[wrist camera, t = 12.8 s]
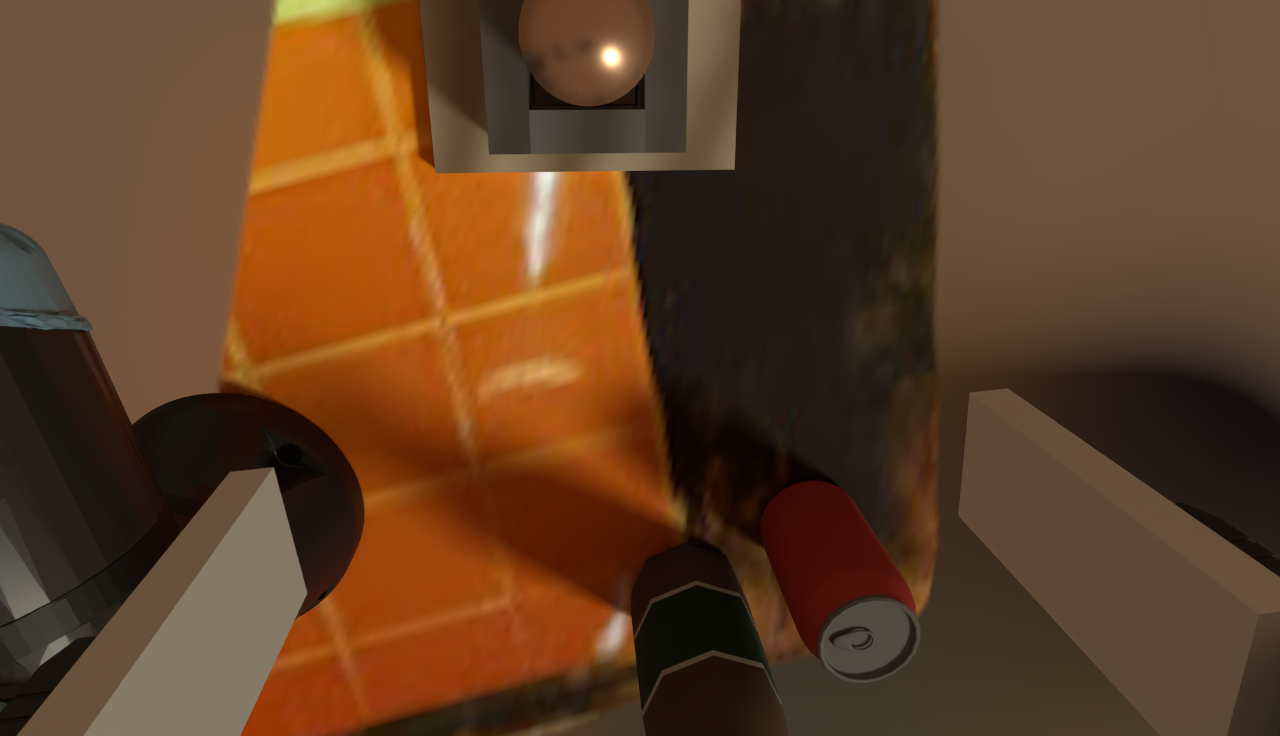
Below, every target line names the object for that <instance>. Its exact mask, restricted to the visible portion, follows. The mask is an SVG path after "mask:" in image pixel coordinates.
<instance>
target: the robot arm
mask: <svg viewBox="0 0 1280 736" xmlns="http://www.w3.org/2000/svg"><path fill="white" fill-rule="evenodd" d="M90 330H93V328H92V326H91V324H90V322H89V321H88V320H87V319H86V318H84V317H83V316H80V315H79V313H78V312H77V310H76V308H75V306H74V305H73V303H72V301H71V299H70V297H69V295H68V293H67V292H66V290H65V288H64V286H63V284H62V282H61V280H60V278H59V277H58V275H57V273H56V271H55V270H54V267H53V266H52V264H51V262H50V260H49V258H48V256H47V254H46V253H45V251H44V250H43V249H42V248H41V246H40V245H39V244H38V243H37V242H35V241H34V240H33V239H32V238H31V237H30V236H28V235H26V234H25V233H23V232H22V231H20V230H18V229H16V228H13V227H11V226H8V225H5V224H1V223H0V736H240V735H241V733H242V730H243V728H244V726H245V724H246V722H247V720H248V718H249V716H250V714H251V711H252V709H253V707H254V705H255V703H256V701H257V699H258V697H259V694H260V692H261V690H262V688H263V686H264V684H265V682H266V680H267V677H268V675H269V673H270V671H271V669H272V667H273V665H274V663H275V661H276V658H277V656H278V654H279V652H280V650H281V648H282V646H283V644H284V641H285V639H286V637H287V635H288V633H289V631H290V629H291V627H292V625H293V623H294V621H295V620H296V619H297V618H298V617H299V616H301V615H303V614H305V613H306V612H308V611H309V610H311V609H312V608H314V607H315V606H316V605H317V604H319V603H320V602H321V601H322V600H323V599H325V598H326V597H327V596H328V595H329V594H330V593H331V592H332V591H333V589H334V588H335V587H336V586H337V584H338V583H339V582H340V580H341V579H342V577H343V576H344V574H345V573H346V571H347V569H348V567H349V565H350V563H351V560H352V558H353V556H354V554H355V552H356V549H357V547H358V545H359V542H360V539H361V535H362V531H363V525H364V503H363V497H362V492H361V489H360V485H359V482H358V480H357V477H356V475H355V473H354V471H353V469H352V467H351V465H350V463H349V462H348V460H347V459H346V457H345V456H344V454H343V453H342V452H341V450H340V449H339V448H338V447H337V445H336V444H335V443H334V442H333V441H332V440H331V439H330V438H329V437H328V436H327V435H326V434H325V433H324V432H322V431H321V430H320V429H319V428H318V427H316V426H315V425H314V424H312V423H311V422H310V421H308V420H306V419H305V418H303V417H302V416H300V415H298V414H296V413H295V412H293V411H291V410H289V409H287V408H285V407H282V406H280V405H277V404H275V403H272V402H269V401H266V400H262V399H259V398H255V397H250V396H245V395H238V394H226V393H211V394H201V395H193V396H189V397H184V398H180V399H177V400H174V401H171V402H168V403H166V404H163V405H161V406H159V407H157V408H155V409H154V410H152V411H150V412H148V413H147V414H146V415H144V416H143V417H141V418H140V419H139V420H138V421H137V422H135V423H134V424H133V425H132V424H131V422H130V420H129V418H128V416H127V414H126V412H125V409H124V407H123V405H122V403H121V400H120V398H119V396H118V394H117V392H116V390H115V387H114V385H113V383H112V381H111V379H110V376H109V374H108V372H107V370H106V368H105V366H104V364H103V361H102V359H101V357H100V355H99V352H98V350H97V348H96V346H95V344H94V341H93V339H92V337H91V335H90V333H89V331H90ZM959 517H960V518H961V519H962V520H963V521H964V522H965V523H966V524H967V525H968V526H969V528H970V529H971V530H972V531H973V532H974V533H975V534H976V535H977V536H978V537H979V538H980V539H981V541H982V542H983V543H984V544H985V545H986V546H987V547H988V548H989V549H990V550H991V551H992V553H993V554H994V555H995V556H996V557H997V558H998V559H999V560H1000V561H1001V562H1002V563H1003V565H1004V566H1005V567H1006V568H1007V569H1008V570H1009V571H1010V572H1011V573H1012V574H1013V575H1014V576H1015V578H1016V579H1017V580H1018V581H1019V582H1020V583H1021V584H1022V585H1023V586H1024V587H1025V588H1026V590H1027V591H1028V592H1029V593H1030V594H1031V595H1032V596H1033V597H1034V598H1035V599H1036V601H1037V602H1038V603H1039V604H1040V605H1041V606H1042V607H1043V608H1044V609H1045V610H1046V611H1047V612H1048V613H1049V615H1050V616H1051V617H1052V618H1053V619H1054V620H1055V621H1056V622H1057V623H1058V624H1059V626H1060V627H1061V628H1062V629H1063V630H1064V631H1065V632H1066V633H1067V634H1068V635H1069V636H1070V638H1071V639H1072V640H1073V641H1074V642H1075V643H1076V644H1077V645H1078V646H1079V647H1080V648H1081V649H1082V650H1083V652H1084V653H1085V654H1086V655H1087V656H1088V657H1089V658H1090V659H1091V660H1092V662H1093V663H1094V664H1095V665H1096V666H1097V667H1098V668H1099V669H1100V670H1101V671H1102V672H1103V674H1104V675H1105V676H1106V677H1107V678H1108V679H1109V680H1110V681H1111V682H1112V683H1113V684H1114V685H1115V686H1116V688H1117V689H1118V690H1119V691H1120V692H1121V693H1122V694H1123V695H1124V696H1125V697H1126V698H1127V700H1128V701H1129V702H1130V703H1131V704H1132V705H1133V706H1134V707H1135V708H1136V709H1137V711H1138V712H1139V713H1140V714H1141V715H1142V716H1143V717H1144V718H1145V719H1146V720H1147V721H1148V723H1149V724H1150V725H1151V726H1152V727H1153V728H1154V729H1155V730H1156V731H1157V732H1158V733H1159V735H1160V736H1280V559H1279V560H1277V559H1276V557H1275V554H1273V553H1272V552H1270V551H1269V550H1267V549H1266V548H1264V547H1263V546H1261V545H1259V544H1258V543H1257V542H1256V543H1252V542H1251V540H1250V538H1249V537H1248V536H1246V535H1244V534H1243V533H1242V532H1240V531H1239V530H1237V529H1236V528H1234V527H1233V526H1231V525H1229V524H1228V523H1227V522H1225V521H1224V520H1222V519H1220V518H1218V517H1216V516H1213V515H1211V514H1208V513H1206V512H1204V511H1201V510H1199V509H1197V508H1194V507H1192V506H1189V505H1187V504H1184V503H1175V504H1173V503H1172V502H1171V501H1169V500H1168V499H1166V498H1165V497H1163V496H1162V495H1160V494H1159V493H1158V492H1156V491H1155V490H1153V489H1152V488H1150V487H1149V486H1147V485H1146V484H1144V483H1143V482H1142V481H1140V480H1139V479H1137V478H1136V477H1134V476H1133V475H1131V474H1130V473H1129V472H1127V471H1126V470H1124V469H1123V468H1121V467H1120V466H1118V465H1117V464H1116V463H1114V462H1113V461H1111V460H1110V459H1109V458H1107V457H1105V456H1104V455H1103V454H1101V453H1100V452H1098V451H1097V450H1095V449H1094V448H1093V447H1091V446H1090V445H1088V444H1087V443H1085V442H1084V441H1082V440H1081V439H1080V438H1078V437H1077V436H1075V435H1074V434H1072V433H1071V432H1070V431H1068V430H1067V429H1065V428H1064V427H1062V426H1061V425H1059V424H1058V423H1056V422H1055V421H1053V420H1052V419H1051V418H1049V417H1047V416H1046V415H1045V414H1044V413H1042V412H1041V411H1039V410H1038V409H1036V408H1035V407H1033V406H1032V405H1031V404H1029V403H1028V402H1026V401H1025V400H1023V399H1022V398H1020V397H1019V396H1018V395H1016V394H1015V393H1013V392H1012V391H1010V390H1009V389H1000V390H991V391H981V392H972V393H970V396H969V407H968V418H967V429H966V440H965V451H964V462H963V473H962V484H961V495H960V506H959Z"/></svg>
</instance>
